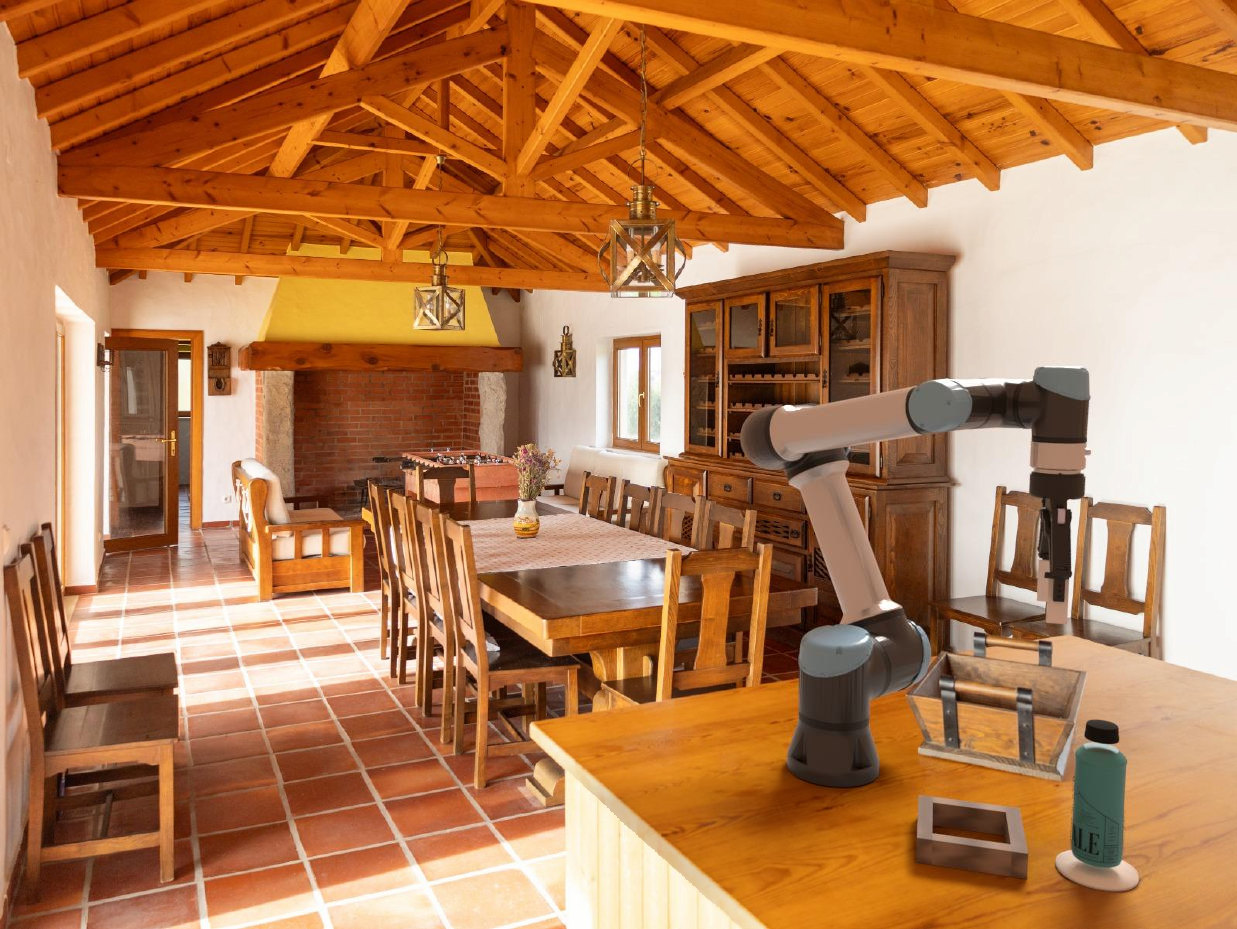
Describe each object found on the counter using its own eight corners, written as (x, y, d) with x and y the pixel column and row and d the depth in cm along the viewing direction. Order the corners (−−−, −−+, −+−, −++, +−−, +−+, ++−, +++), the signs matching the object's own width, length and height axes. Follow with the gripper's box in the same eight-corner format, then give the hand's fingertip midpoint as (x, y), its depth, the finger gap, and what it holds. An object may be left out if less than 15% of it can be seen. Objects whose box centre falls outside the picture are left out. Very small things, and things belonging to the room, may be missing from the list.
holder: (916, 862, 132) (916, 837, 132) (918, 817, 145) (918, 794, 145) (1027, 878, 128) (1028, 853, 128) (1018, 831, 141) (1019, 807, 141)
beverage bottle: (1125, 863, 131) (1133, 719, 129) (1119, 885, 125) (1127, 735, 123) (1073, 850, 135) (1079, 710, 133) (1064, 870, 129) (1071, 725, 127)
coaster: (1060, 883, 127) (1060, 880, 127) (1051, 848, 136) (1051, 844, 136) (1145, 896, 124) (1145, 893, 123) (1130, 859, 133) (1131, 855, 133)
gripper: (1098, 481, 130) (1091, 635, 132) (1074, 463, 154) (1067, 594, 156) (1038, 479, 133) (1031, 630, 135) (1023, 462, 156) (1017, 591, 158)
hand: (1051, 611), depth 145 cm, fingers open, 13 cm apart
